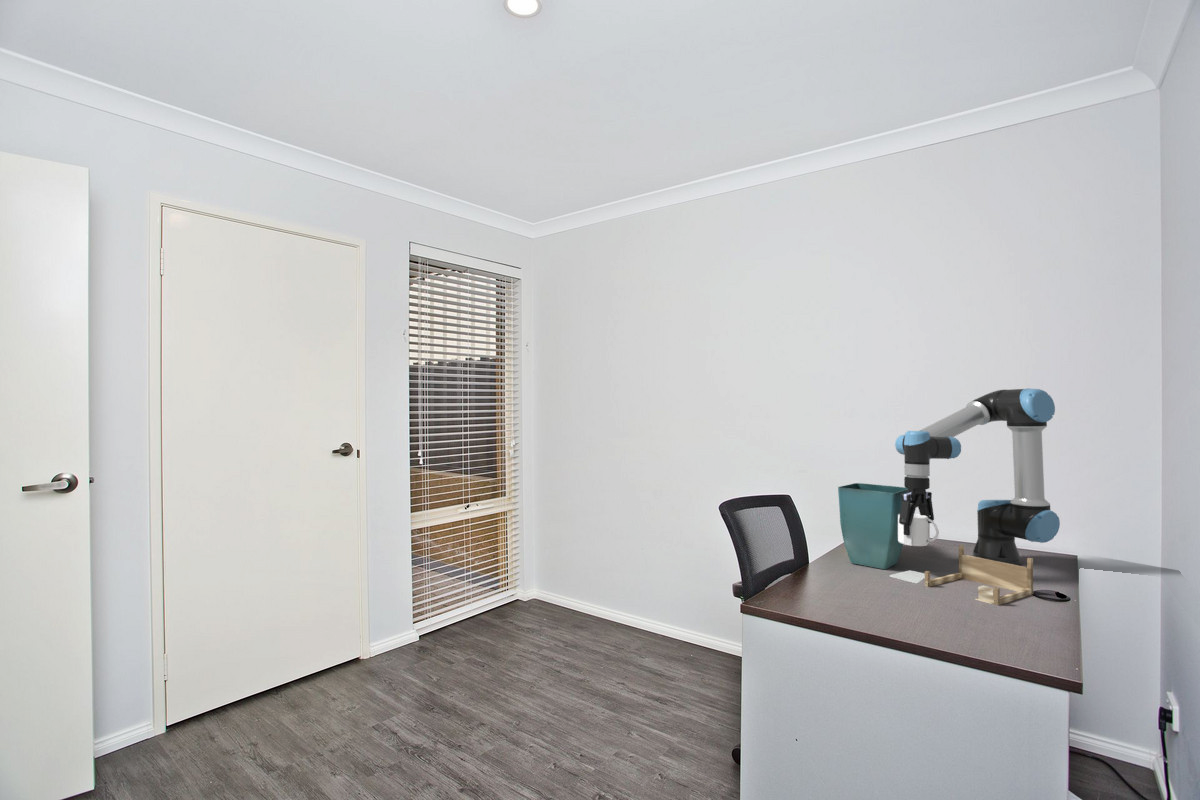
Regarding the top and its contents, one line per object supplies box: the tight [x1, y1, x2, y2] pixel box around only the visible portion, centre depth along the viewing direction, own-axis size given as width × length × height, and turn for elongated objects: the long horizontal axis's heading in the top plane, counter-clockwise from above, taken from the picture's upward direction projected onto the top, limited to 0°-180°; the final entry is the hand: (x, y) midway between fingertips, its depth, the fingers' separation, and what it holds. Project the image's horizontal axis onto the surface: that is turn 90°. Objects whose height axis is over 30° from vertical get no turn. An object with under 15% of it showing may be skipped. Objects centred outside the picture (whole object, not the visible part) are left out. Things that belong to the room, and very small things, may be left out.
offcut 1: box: [977, 584, 995, 596], centre depth 172 cm, size 4×3×2 cm
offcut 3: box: [974, 598, 994, 605], centre depth 172 cm, size 5×4×2 cm
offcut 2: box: [977, 592, 994, 604], centre depth 172 cm, size 4×4×2 cm
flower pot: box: [837, 482, 908, 570], centre depth 218 cm, size 20×20×28 cm
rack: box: [924, 544, 1034, 606], centre depth 182 cm, size 21×21×12 cm
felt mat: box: [889, 569, 925, 584], centre depth 199 cm, size 12×12×1 cm
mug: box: [898, 513, 940, 547], centre depth 199 cm, size 12×9×9 cm
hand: (916, 543), depth 199 cm, fingers closed on mug, 9 cm apart
